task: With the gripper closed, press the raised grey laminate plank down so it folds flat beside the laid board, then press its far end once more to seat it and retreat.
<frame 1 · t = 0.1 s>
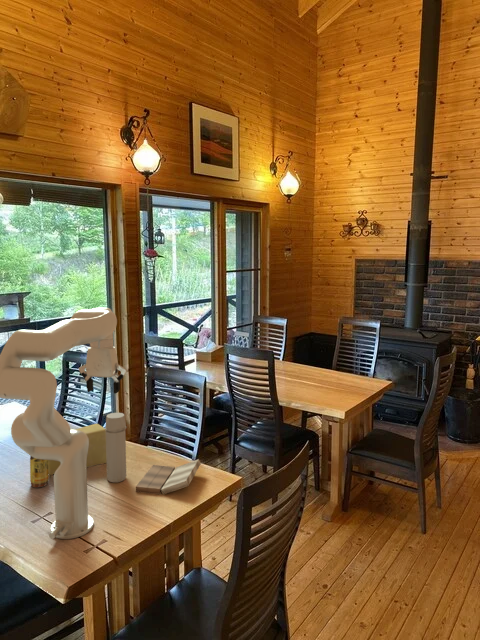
hand: (103, 391, 166), 37 cm above the table, tool pointing down, fingers open, 9 cm apart
sauce bottle: (40, 484, 176), on the table
cheese: (77, 467, 190), on the table
laid board: (156, 481, 179), on the table
water bottle: (118, 478, 181), on the table
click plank: (181, 476, 177), point 3 cm above the table, hinge at 24.0°
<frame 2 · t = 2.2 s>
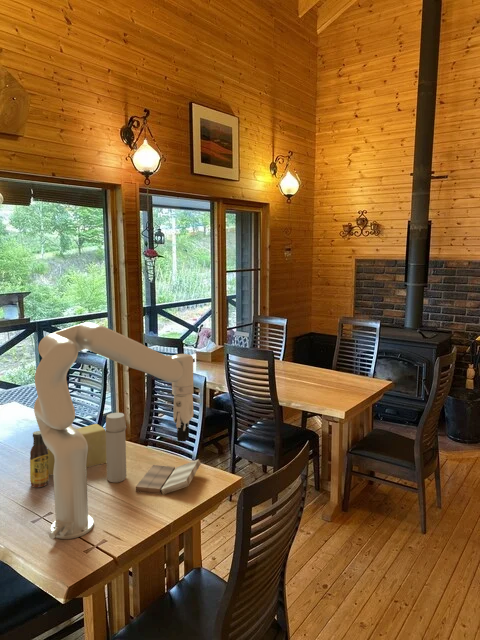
hand: (183, 438, 170), 19 cm above the table, tool pointing down, fingers closed
nothing on the table moved.
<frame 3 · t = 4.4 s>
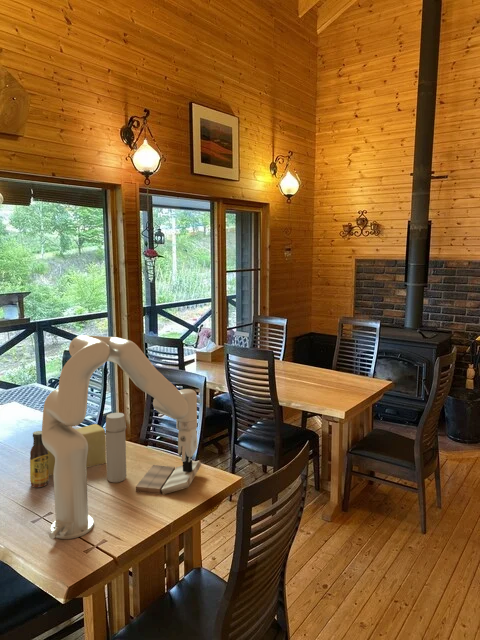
hand: (187, 470, 176), 5 cm above the table, tool pointing down, fingers closed
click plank: (182, 476, 177), point 3 cm above the table, hinge at 21.5°, touching gripper
everything else where it was.
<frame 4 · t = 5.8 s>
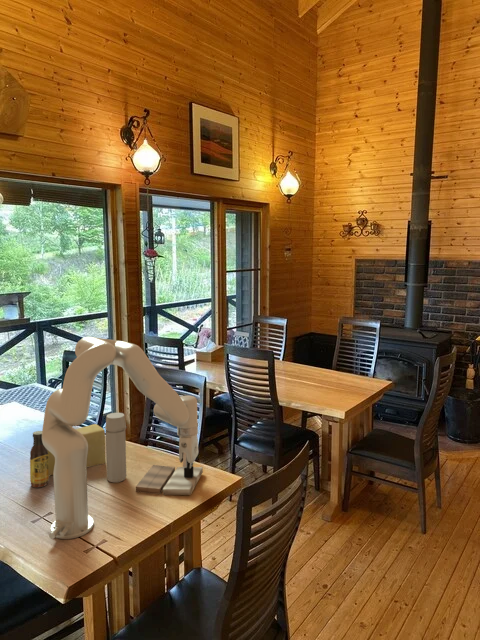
hand: (188, 476, 177), 3 cm above the table, tool pointing down, fingers closed
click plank: (183, 480, 177), point 1 cm above the table, hinge at 4.9°, touching gripper
everything else where it was.
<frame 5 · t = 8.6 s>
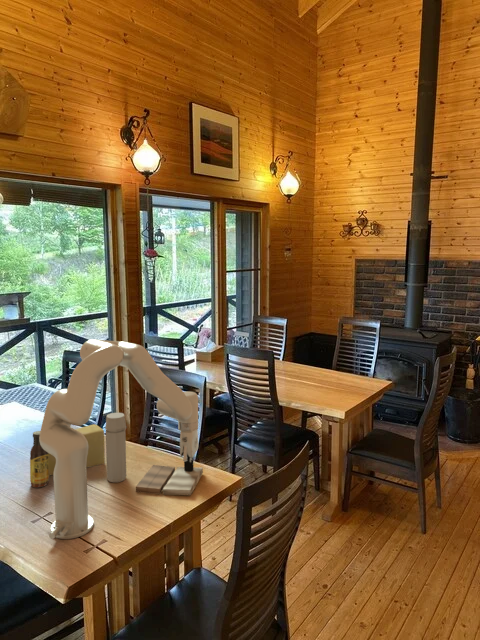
hand: (188, 470, 183), 2 cm above the table, tool pointing down, fingers closed
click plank: (183, 480, 177), point 1 cm above the table, hinge at 3.8°, touching gripper
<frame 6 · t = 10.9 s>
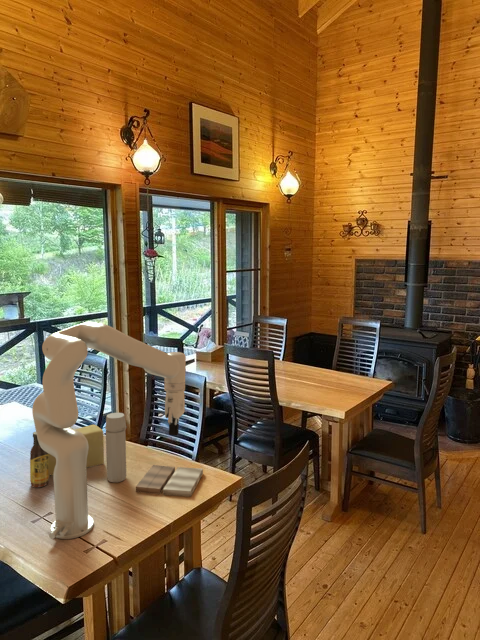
hand: (173, 434, 177), 18 cm above the table, tool pointing down, fingers closed
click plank: (183, 481, 177), point 1 cm above the table, hinge at 1.2°
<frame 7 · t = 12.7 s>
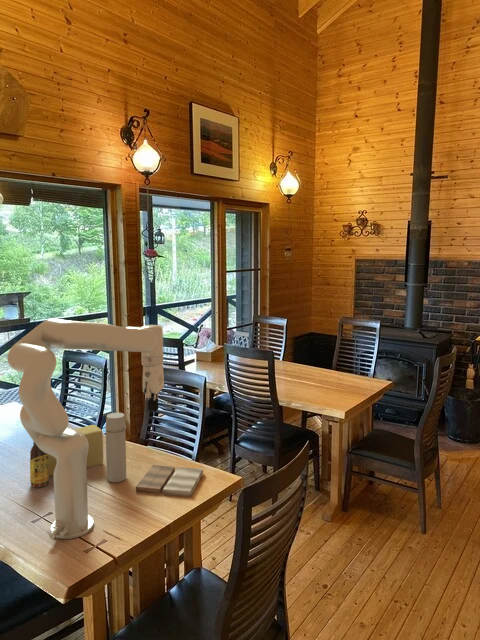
hand: (153, 410, 171), 29 cm above the table, tool pointing down, fingers closed
at the end: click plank at +1° (first picture: +24°); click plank touching nothing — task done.
